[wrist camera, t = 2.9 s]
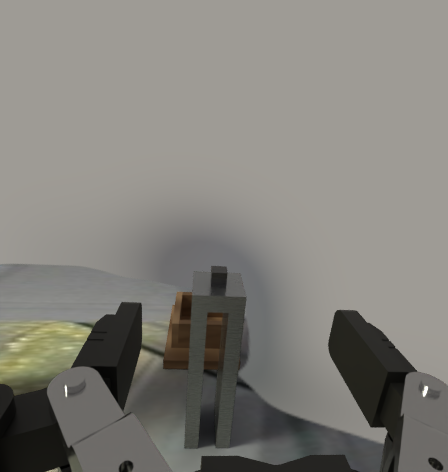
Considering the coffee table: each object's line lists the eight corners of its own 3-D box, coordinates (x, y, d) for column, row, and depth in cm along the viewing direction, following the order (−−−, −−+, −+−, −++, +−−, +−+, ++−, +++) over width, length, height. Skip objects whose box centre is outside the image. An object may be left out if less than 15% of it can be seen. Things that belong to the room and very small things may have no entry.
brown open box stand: (239, 369, 37) (243, 336, 35) (163, 368, 36) (163, 334, 35) (230, 313, 48) (233, 286, 47) (172, 311, 47) (173, 284, 46)
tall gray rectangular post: (229, 447, 28) (248, 282, 22) (184, 448, 27) (192, 280, 22) (225, 409, 31) (241, 260, 26) (186, 409, 31) (194, 258, 26)
